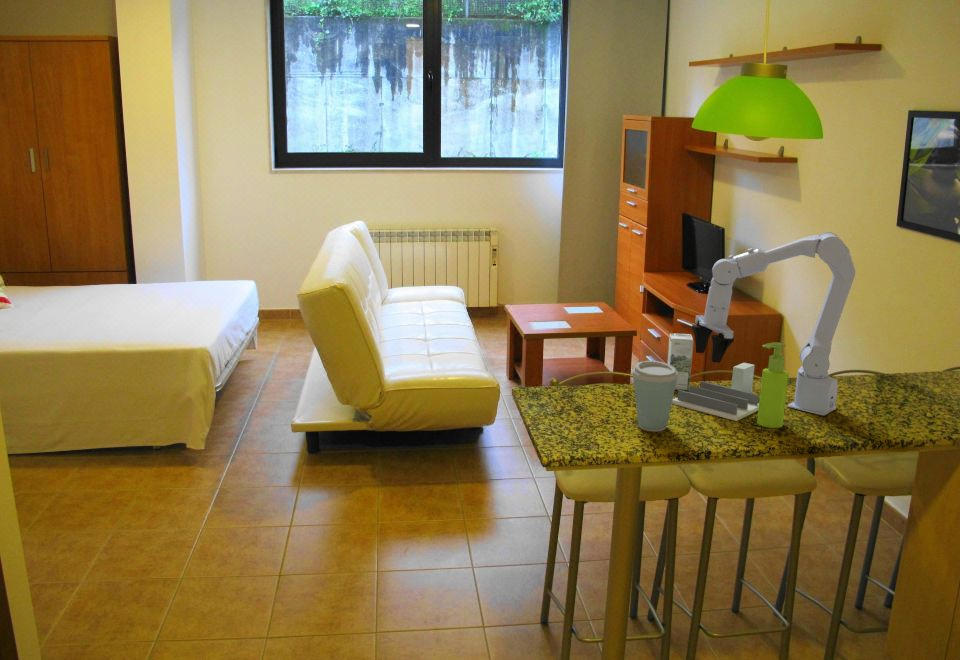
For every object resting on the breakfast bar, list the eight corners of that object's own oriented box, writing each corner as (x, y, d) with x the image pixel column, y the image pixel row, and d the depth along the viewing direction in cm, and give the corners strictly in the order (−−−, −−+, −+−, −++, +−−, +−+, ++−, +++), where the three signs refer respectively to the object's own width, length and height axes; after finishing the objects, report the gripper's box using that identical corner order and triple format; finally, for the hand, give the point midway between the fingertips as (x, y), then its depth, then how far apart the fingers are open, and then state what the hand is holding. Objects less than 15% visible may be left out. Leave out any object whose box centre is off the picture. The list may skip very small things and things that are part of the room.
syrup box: (686, 385, 244) (690, 333, 240) (689, 391, 238) (693, 338, 235) (665, 383, 244) (669, 332, 241) (667, 390, 239) (671, 337, 235)
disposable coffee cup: (684, 430, 209) (689, 368, 205) (649, 438, 203) (654, 375, 200) (652, 417, 217) (657, 357, 214) (618, 424, 212) (622, 363, 208)
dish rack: (762, 408, 226) (764, 394, 225) (736, 421, 216) (738, 407, 215) (699, 391, 238) (700, 379, 237) (671, 403, 228) (672, 390, 227)
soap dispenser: (748, 421, 216) (756, 341, 211) (771, 418, 219) (779, 339, 214) (764, 429, 211) (773, 347, 206) (788, 426, 213) (797, 345, 209)
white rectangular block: (741, 391, 240) (744, 362, 238) (751, 393, 238) (754, 364, 236) (730, 396, 235) (733, 366, 233) (741, 398, 233) (743, 369, 231)
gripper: (688, 298, 233) (679, 348, 236) (720, 313, 219) (709, 366, 223) (712, 299, 235) (702, 348, 239) (744, 314, 222) (733, 366, 225)
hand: (707, 357), depth 231 cm, fingers open, 7 cm apart
